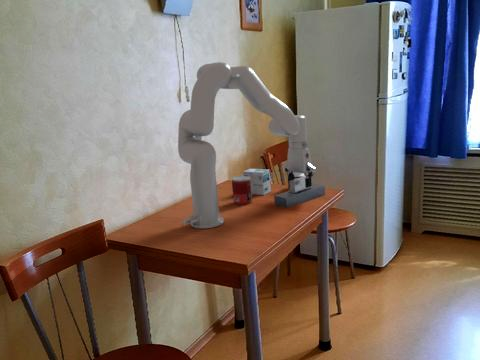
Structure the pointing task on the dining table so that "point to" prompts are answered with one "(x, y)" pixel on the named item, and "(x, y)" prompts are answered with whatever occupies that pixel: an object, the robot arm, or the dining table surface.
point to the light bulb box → (259, 180)
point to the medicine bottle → (296, 175)
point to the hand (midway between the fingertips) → (299, 185)
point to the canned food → (241, 190)
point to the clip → (297, 185)
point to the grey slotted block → (299, 196)
